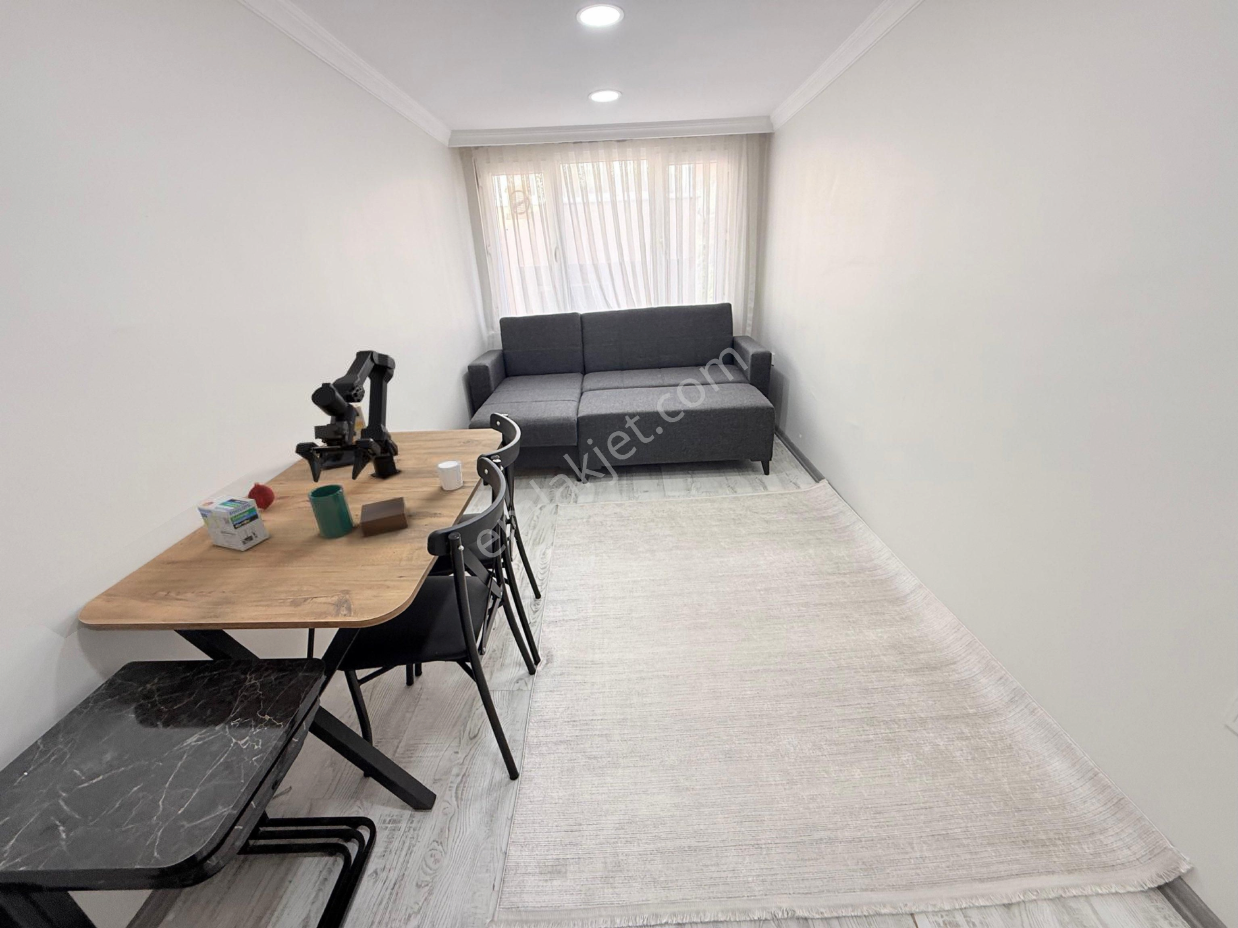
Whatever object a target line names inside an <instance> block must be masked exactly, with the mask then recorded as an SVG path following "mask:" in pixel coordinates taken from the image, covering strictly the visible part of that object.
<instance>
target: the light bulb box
mask: <svg viewBox="0 0 1238 928" xmlns="http://www.w3.org/2000/svg"><path fill="white" fill-rule="evenodd" d="M196 508H197V510H198V512H199V514H200V516H201V518H202V521H203V523H204V525H205V528H206V531H207V532H208V534H209V536H210V538H211V542H212V543H213V545H214V546H220V547H222V548H223V547H224V548H227V549H232V550H237V551H242V552H245V551H246V550H249V549H250V548H252V547H253V546H256V545H257V544H259V543H261V542H263V541H265V540H267V539H268V538H270V535H269V533H268V530H267V528H266V526H265V523H264V520H263V518H262V515H261V512H260V509H259V508H258V507H257V505H256V502H255V499H249V498H248V497H240V496H233V495H227V494H223V495H221V496H217V497H215V498H212V499H211V500H209V501H206V502H204V503H201V504H199V505H197V507H196Z"/></svg>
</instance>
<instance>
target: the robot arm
mask: <svg viewBox="0 0 1238 928" xmlns="http://www.w3.org/2000/svg"><path fill="white" fill-rule="evenodd" d="M395 370H396V361H395V359H394V358H393V357H392V356H391V355H390V354H386V353H380V352H378V351H376V350H373V349H370V350H369V349H368V350H367V349H366V350H359V351H357V352H355V358H354V360H353V362H352V363H351V364H350V366H349V368H348V370H347V371H346V373H345V374H344V375H343V376H341V377H338V378H337V379H335V380H334V381H333V382H322V383H321V386H319V387H318V388H316V389H315V390H314V391H313V393H312V394H311V396H310V399H311V402H312V404H314V405H315V407H317V408H318V409H319V410H321V412H323V413H324V414H325V415H326V416H328V417H330V420H329V423H326V424H325V425H314V426H313V427H314V428H313V429H314V439H315V440H320V441H321V443H322V444H326V445H322V446H321V445H318V444H317V443H316V442H314V441H306V442H305V441H304V442H298V443H297V444H296V446H295V450H294V453H295V454H296V455H298V456H299V457H301V458H303V459H304V460H306V461H307V464H308V465H309V468H310V472H311V475H312V479H313V480H312V481H313V482H314V483H316V484H317V483H318V482H319V480H320V477H321V473H322V470H323V468H322V466H323V462H324V461H323V460H322V458H323V456H324V454H330V453H345V452H354V457H355V458H354V463H352V464H353V465H352V471H351V480H353V481H356V480H357V478H358V477H359V475H360V474H361V473H362V471H363V470H365V469H364V468H365V467H366V466H367V465H368V464H369V463H370V462H372V465H373V469H374V472H372V473H371V474H370V476H371V477H373V478H377V479H381V480H386V479H389V478H391V477H393V476H396V475H398V474H401V472H402V470H401V469H398V468H397V466H396V465H397V464H396V462H395V459H394V458H395V457H397V456H399V448H398V447H399V446H398V445H397V444H396V442H394V440H393V439H392V435H391V434H390V432H389V430H388V429H387V405H388V404H387V402H388V384H390V381H391V380H392V379H393V378H394V373H395ZM367 379H368V380H369V398H368V399H369V400H368V419H367V420H368V421H367V425H366V428H362V429H361V431H360V433H361V437H360V439H357V440H356V441H355V443H353V437H354V436H356V434H357V432H356V431H355V430H354V429H355V421H356V417H359V416H360V414H359V412H358V411H357V409H356V407H354V406H353V405H354V404H360V403H362V401H363V399H364V398H365V393H366V390H365V387H364V384H365V382H366V380H367Z"/></svg>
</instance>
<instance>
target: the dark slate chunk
mask: <svg viewBox="0 0 1238 928" xmlns="http://www.w3.org/2000/svg"><path fill="white" fill-rule="evenodd" d="M354 458H355V457H354V452H345V453H330V454H324V456H323V458H322V460H323V461H324V462H323V466H322V469H327V470H328V469H330V468H334V467H338V468H339V467H343V466H348V465H352V464H354Z"/></svg>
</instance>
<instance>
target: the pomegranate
mask: <svg viewBox="0 0 1238 928" xmlns="http://www.w3.org/2000/svg"><path fill="white" fill-rule="evenodd" d="M247 498H249V499H255V502H256V505H257V507H258V509H262V510H266V509H268V508H269V507H270V506H271V505H272V504H273V503H274V500H275V492H274V491H273V489H272V488H270V487H269V486H267V485H265V484H260V483H259V482H258V481H254V484H253V487H252V488H250V490H249V492H248V494H247Z"/></svg>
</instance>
